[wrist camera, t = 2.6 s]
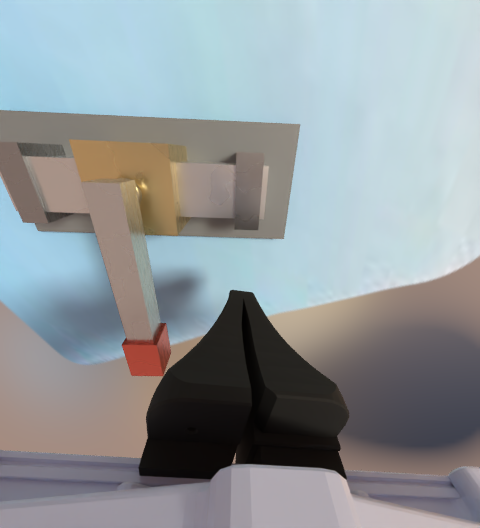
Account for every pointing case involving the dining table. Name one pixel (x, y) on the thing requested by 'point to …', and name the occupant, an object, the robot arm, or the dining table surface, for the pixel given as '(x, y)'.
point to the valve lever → (129, 271)
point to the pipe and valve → (146, 177)
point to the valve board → (177, 133)
